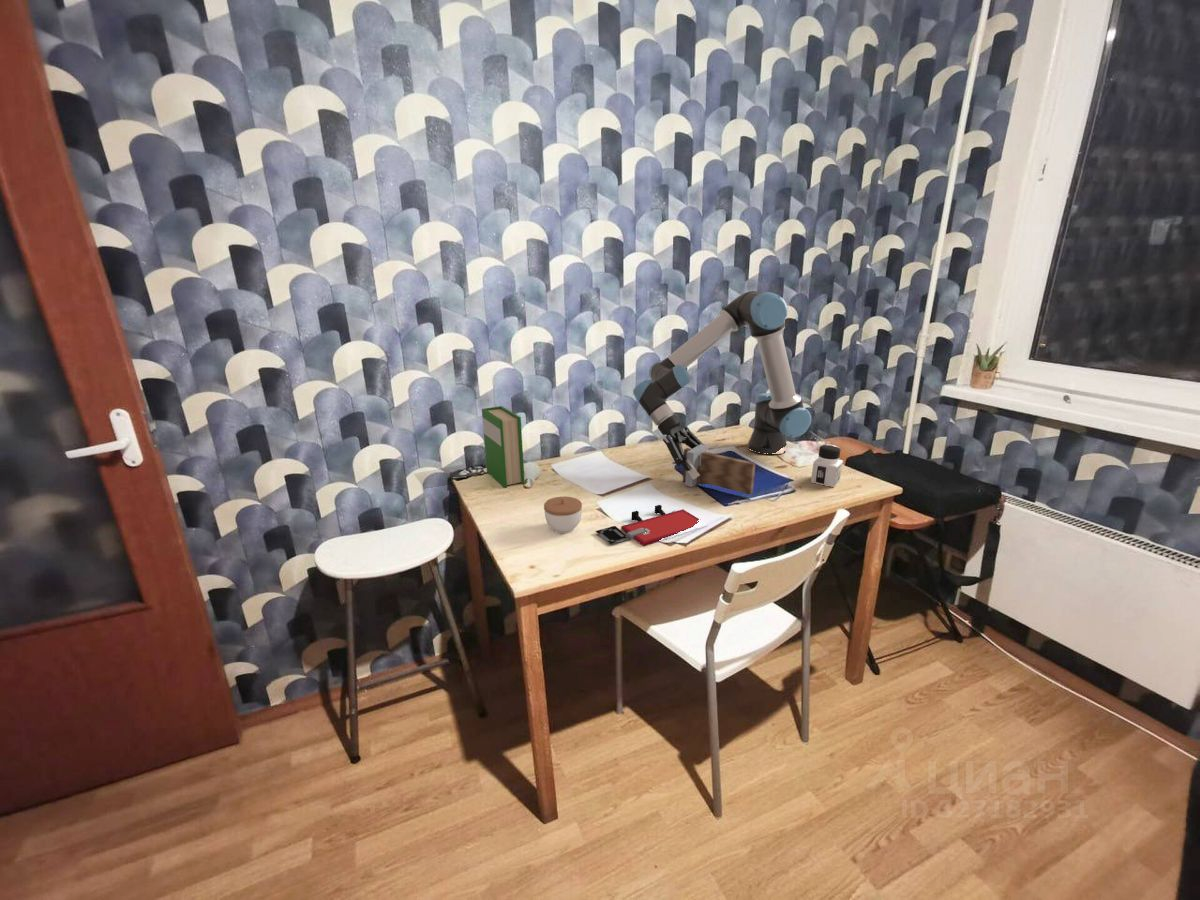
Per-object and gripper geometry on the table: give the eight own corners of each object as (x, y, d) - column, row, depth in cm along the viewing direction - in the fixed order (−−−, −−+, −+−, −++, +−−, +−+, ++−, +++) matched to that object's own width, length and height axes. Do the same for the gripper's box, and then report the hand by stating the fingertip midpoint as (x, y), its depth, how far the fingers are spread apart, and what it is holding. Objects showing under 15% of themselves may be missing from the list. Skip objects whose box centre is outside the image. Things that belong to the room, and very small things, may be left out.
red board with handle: (591, 531, 152) (620, 555, 140) (591, 522, 151) (620, 545, 139) (675, 508, 166) (707, 528, 154) (675, 500, 165) (708, 519, 153)
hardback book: (524, 483, 185) (520, 417, 177) (504, 488, 181) (499, 420, 173) (506, 468, 199) (501, 406, 191) (487, 472, 196) (481, 408, 188)
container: (833, 488, 179) (839, 451, 174) (810, 483, 183) (815, 447, 179) (840, 481, 184) (845, 445, 180) (817, 476, 189) (821, 441, 185)
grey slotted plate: (685, 485, 180) (686, 451, 176) (699, 476, 187) (701, 443, 183) (691, 487, 178) (693, 453, 174) (705, 477, 186) (707, 445, 182)
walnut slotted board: (682, 482, 185) (684, 449, 181) (685, 480, 186) (686, 447, 182) (749, 499, 170) (753, 464, 167) (752, 497, 172) (755, 462, 168)
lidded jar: (537, 528, 153) (535, 498, 150) (565, 516, 160) (564, 488, 157) (561, 541, 146) (560, 510, 143) (590, 528, 153) (589, 498, 150)
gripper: (675, 419, 194) (712, 468, 190) (640, 434, 178) (680, 488, 174) (688, 407, 189) (726, 457, 185) (654, 421, 173) (695, 477, 169)
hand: (704, 472), depth 180 cm, fingers closed on grey slotted plate, 10 cm apart
